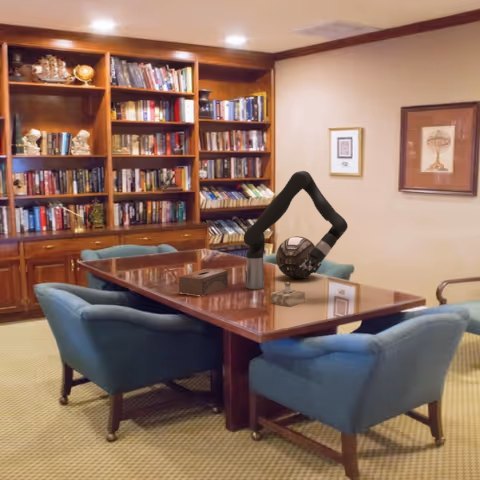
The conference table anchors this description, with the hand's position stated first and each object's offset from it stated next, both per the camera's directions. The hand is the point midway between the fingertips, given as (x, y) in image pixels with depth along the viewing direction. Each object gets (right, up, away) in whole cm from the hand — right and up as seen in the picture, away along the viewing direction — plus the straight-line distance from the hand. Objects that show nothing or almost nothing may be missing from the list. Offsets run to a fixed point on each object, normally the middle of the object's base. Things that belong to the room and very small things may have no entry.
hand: (300, 276), depth 302 cm
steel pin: (-6, -13, -1) cm, 14 cm away
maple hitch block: (-7, -13, -1) cm, 15 cm away
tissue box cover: (-50, -10, +29) cm, 59 cm away
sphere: (+4, -5, +57) cm, 57 cm away
